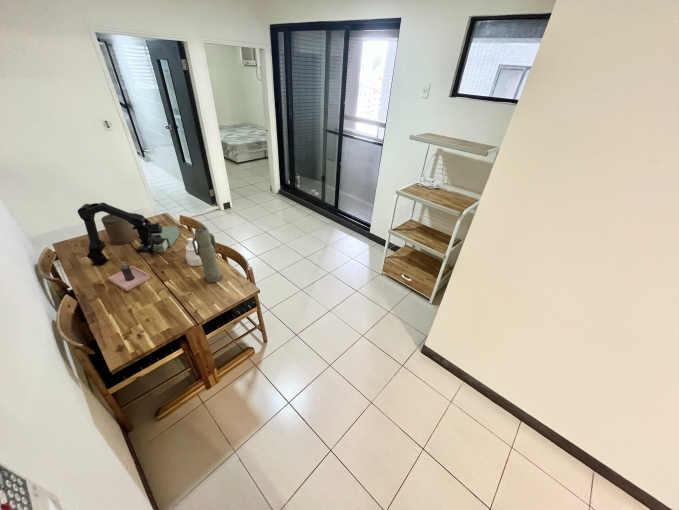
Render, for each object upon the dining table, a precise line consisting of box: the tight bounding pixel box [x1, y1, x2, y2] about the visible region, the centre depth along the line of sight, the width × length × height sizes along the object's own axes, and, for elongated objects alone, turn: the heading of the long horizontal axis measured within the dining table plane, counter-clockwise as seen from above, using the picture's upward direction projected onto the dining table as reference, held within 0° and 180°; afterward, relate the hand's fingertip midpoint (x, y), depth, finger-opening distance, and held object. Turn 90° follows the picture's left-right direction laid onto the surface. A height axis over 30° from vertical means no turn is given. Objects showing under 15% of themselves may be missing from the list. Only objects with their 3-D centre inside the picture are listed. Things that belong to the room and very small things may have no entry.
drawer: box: [153, 239, 169, 254], centre depth 192 cm, size 21×11×5 cm, turn 7°
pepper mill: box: [120, 263, 135, 281], centre depth 162 cm, size 5×5×11 cm
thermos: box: [192, 226, 222, 284], centre depth 161 cm, size 9×12×35 cm
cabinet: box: [152, 225, 180, 248], centre depth 201 cm, size 18×13×7 cm
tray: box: [107, 265, 152, 292], centre depth 165 cm, size 17×14×2 cm
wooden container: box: [100, 214, 137, 245], centre depth 194 cm, size 15×15×22 cm
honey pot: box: [185, 237, 203, 267], centre depth 180 cm, size 13×13×18 cm
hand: (152, 254), depth 183 cm, fingers closed
